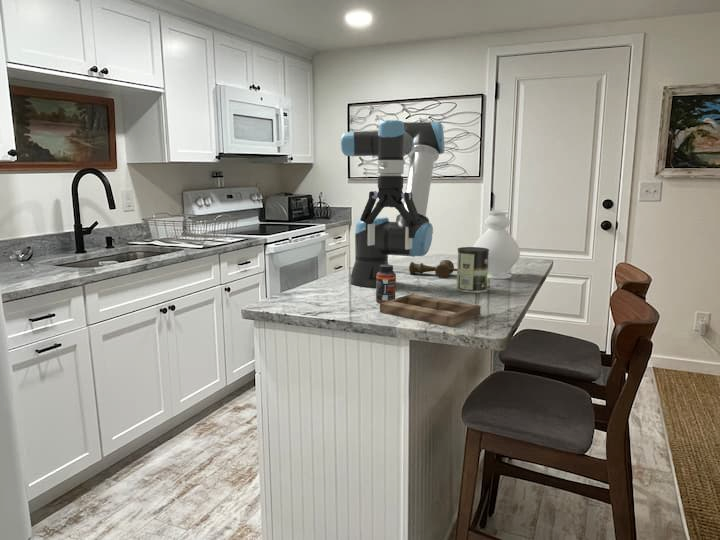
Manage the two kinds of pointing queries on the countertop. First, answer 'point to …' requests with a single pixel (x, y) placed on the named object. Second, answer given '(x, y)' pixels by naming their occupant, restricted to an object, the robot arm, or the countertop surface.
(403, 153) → the robot arm
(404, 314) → the brown wooden picture frame
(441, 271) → the kendama
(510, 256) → the decorative vase
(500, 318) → the countertop surface
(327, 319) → the countertop surface
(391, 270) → the supplement bottle
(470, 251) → the coffee can
